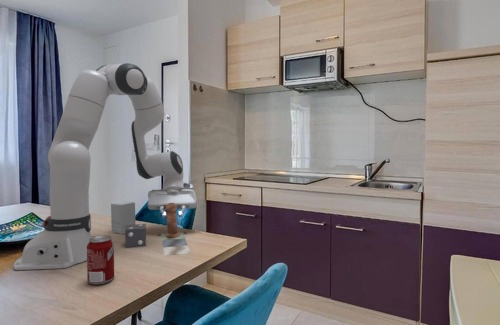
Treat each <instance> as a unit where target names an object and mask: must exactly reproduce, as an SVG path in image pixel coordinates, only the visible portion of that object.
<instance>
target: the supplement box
mask: <svg viewBox="0 0 500 325" xmlns="http://www.w3.org/2000/svg"><path fill="white" fill-rule="evenodd" d="M110 214H111V216H110V217H111V219H110V220H111V221H110V222H111V223H110V224H111V232H112V233H116V234H117V233H118V234H120V235H121V234H122V235H123V234H125V229H126V225H136V203H135V202H134V201H128V200H123V201H117V202H111V203H110Z"/></svg>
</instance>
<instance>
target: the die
mask: <svg viewBox="0 0 500 325" xmlns="http://www.w3.org/2000/svg"><path fill="white" fill-rule="evenodd" d="M124 234H125V240H124V241H125V249H128V248H129V249H131V248H140V247H141V248H142V247H143V248H144V247H146V246H147V225H146V223H139V224H137V223H135V225H126V229H125V233H124Z"/></svg>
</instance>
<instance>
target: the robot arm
mask: <svg viewBox="0 0 500 325" xmlns="http://www.w3.org/2000/svg"><path fill="white" fill-rule="evenodd" d="M71 86H72V87H71V88H70V91H69V93H68V97H67V100H66V103H65V105H64V109H63V111H62V115H61V118H60V120H59V124H58V126H57V128H56V131H55V134H54V137H53V139H52V142H51V145H50V147H49V150H48V154H47V159H48V160H47V161H48V163H49V202H50V203H49V205H50V208H49V209H50V212H49V213H50V215H49V216H47V217H46V218H45V220H43V222H42V227H43V230H42V231H41V232H39V233H38V234H37V235H35V236H34V237H32V238H31V239H30V240H29V241H28V242H27V243H26V244H25V246H24V247H23V250H22V256H20V257H19V258H18V259H16V261H14V263H13V266H12V267H13V270H14V271H26V270H27V271H29V270H30V271H31V270H52V269H53V270H54V269H55V270H56V269H66V268H70V267H71V266H74V265H77V264H81V263H84V262H87V245H88V243H89V242H90V241H89V239H90V238H92V235H91V231H92V230H91V229H92V217H91V214H90V199H89V198H90V196H89V190H90V178H91V177H90V176H91V153H90V151H89V150H90V147H91V145H92V142H93V140H94V138H95V135H96V133H97V131H98V128H99V125H100V123H101V119H102V116H103V114H104V110H105V106H106V103H107V99H108V98H109V97H110V95H116V96H117V95H118V96H127V97H128V98H129V99H130V101H131V103H132V107H133V109H134V114H135V115H134V120H133V121H132V122H131V128H130V130H131V137H132V144H133V150H134V154H135V160H136V170H137V171H136V172H137V174H138V175H139V176H140V177H141V178H143V179H144V180H150V179H154V178H157V177H161V176H163V182H162V189H152V190H150V191H148V194H147V198H148V200H147V208H148V209H149V210H150V211H151V210H152V211H153V210H154V211H155V210H157V211H158V210H159V211H160V213H161V215H162V216H161V217H162V218H163V219H164V218H166V219H167V213H166V211H165V210H166V205H167V204H168V203H175V204H176V206H177V210H180V209H181V210H180V211H178V218H182V217H183V214H184V212H185V211H186V209H196V208H197V207H198V199H197V198H198V197H197V194H196V191H195V190H194V185H193V184H192V183H189V182H188V183H187V182H184V181H183V179H184V165H183V160H182V158H181V156H180V155H179V154H178V153H177V152H175V151H173V150H170V151H165V152H161V153H160V152H159V153H155V154H151V155H150V154H148V153H147V147H146V140H145V135H146V134H147V133H148V132H151V131H152V130H153V129H155V128H156V127H158V126H159V125H160V124H161V123H162V122H163V120H164V118H165V108H164V105H163V101H162V98H161V96H160V92H159V91H158V89H157V87H156V85H155V83H154V81H153V80H152V79H151V78H150V77H147V76H146V74H145V73H144V71H143V69H141V68H140V67H139V66H138V65H136V64H133V63H128V62H126V63H117V62H116V63H110V64H104V65H101V66H100V67H98V68H97V69H96V70H95V69H84V70H81V71H80V73H79V74H78V75H77V77H76V78H75V80H74V82H73V84H72V85H71Z"/></svg>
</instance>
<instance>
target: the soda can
mask: <svg viewBox="0 0 500 325" xmlns="http://www.w3.org/2000/svg"><path fill="white" fill-rule="evenodd" d="M89 241H90V242H89V243H88V245H87V260H86V272H87V273H86V275H87V277H86V279H87V283H89V284H91V285H96V286H99V285H104V284H107V283H109V282H110V281H112V280H113V279H114V278H115V243H114V241H113V240H112V236H110V235H98V236H93V237H92V236H91V238H90V239H89Z"/></svg>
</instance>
